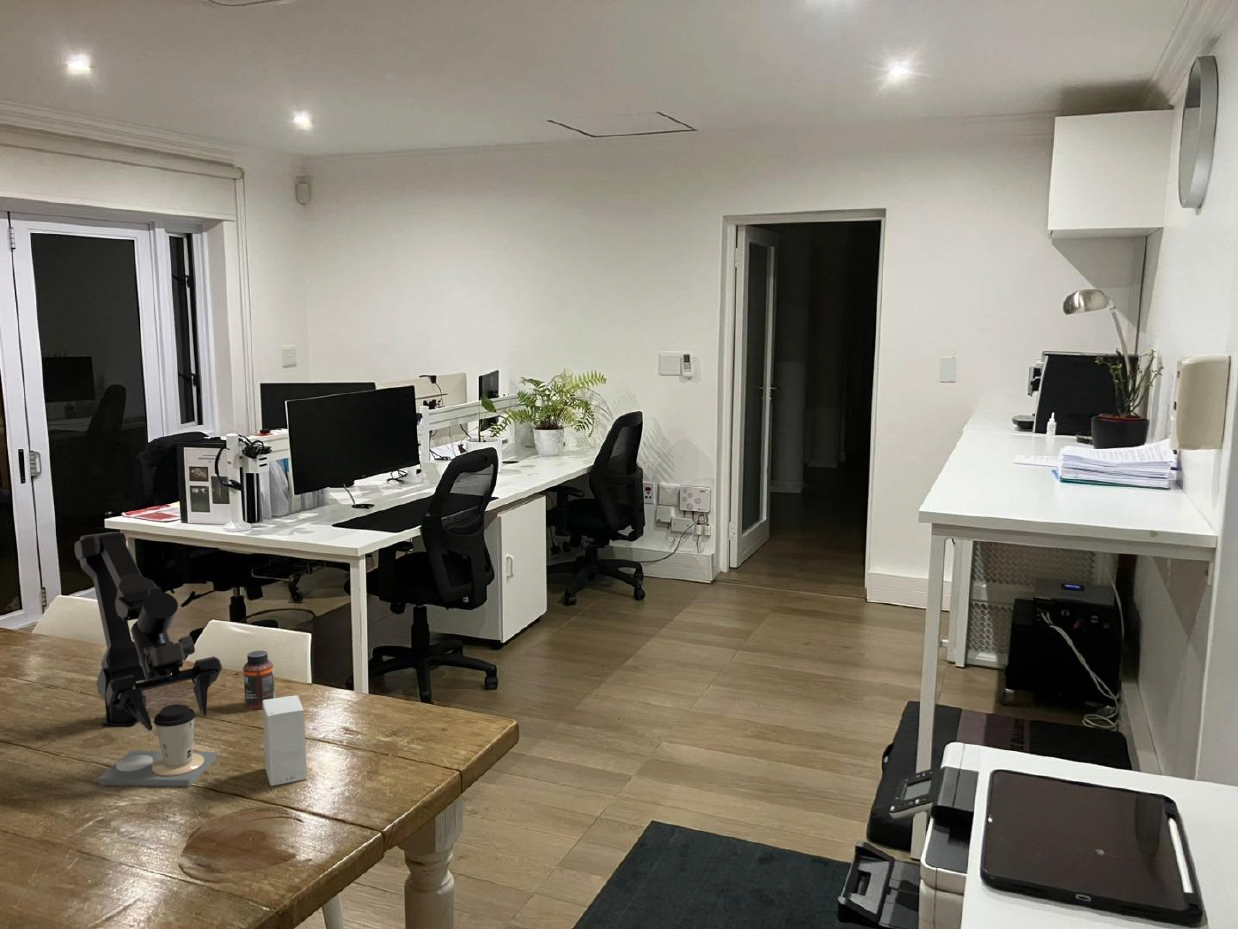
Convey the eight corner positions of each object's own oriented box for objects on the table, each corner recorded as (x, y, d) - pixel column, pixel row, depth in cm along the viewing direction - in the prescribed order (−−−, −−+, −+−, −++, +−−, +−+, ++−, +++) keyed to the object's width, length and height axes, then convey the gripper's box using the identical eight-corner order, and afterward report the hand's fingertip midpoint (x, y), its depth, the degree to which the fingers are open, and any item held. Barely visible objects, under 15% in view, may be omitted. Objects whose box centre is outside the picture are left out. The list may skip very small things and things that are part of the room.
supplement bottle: (280, 700, 207) (277, 649, 206) (267, 710, 202) (264, 658, 200) (253, 698, 208) (250, 648, 206) (239, 709, 202) (237, 657, 201)
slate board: (98, 785, 169) (98, 776, 169) (131, 757, 180) (131, 748, 180) (189, 786, 169) (188, 778, 168) (216, 758, 180) (216, 750, 179)
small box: (307, 780, 172) (304, 710, 170) (269, 787, 169) (266, 716, 167) (301, 761, 179) (298, 694, 177) (264, 768, 176) (261, 699, 174)
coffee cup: (205, 763, 174) (201, 710, 172) (165, 775, 169) (161, 722, 168) (190, 750, 179) (186, 699, 177) (150, 762, 174) (146, 709, 172)
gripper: (105, 635, 167) (129, 715, 161) (215, 614, 179) (241, 688, 173) (96, 667, 174) (118, 745, 167) (202, 644, 186) (227, 716, 180)
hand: (178, 722), depth 172 cm, fingers open, 9 cm apart
